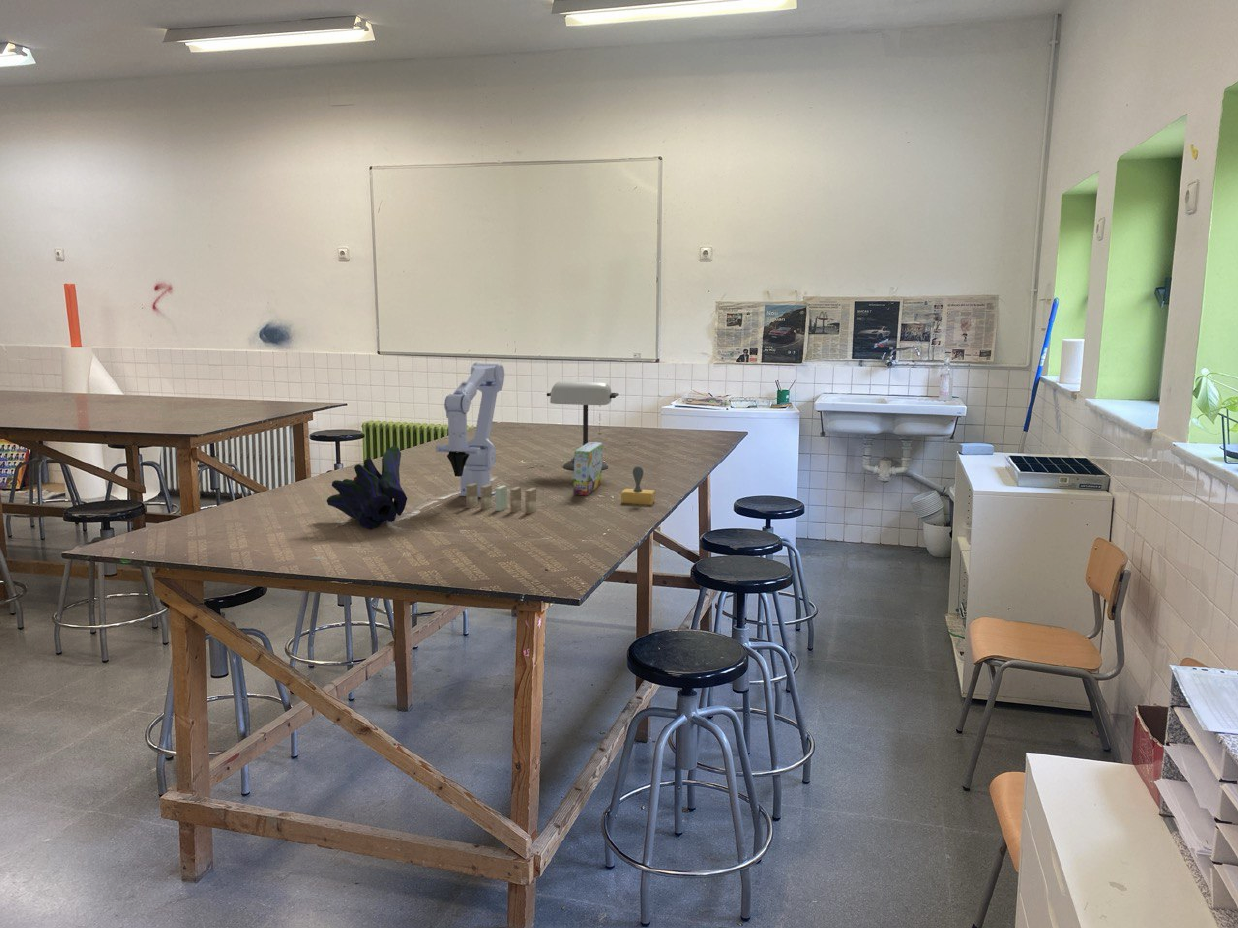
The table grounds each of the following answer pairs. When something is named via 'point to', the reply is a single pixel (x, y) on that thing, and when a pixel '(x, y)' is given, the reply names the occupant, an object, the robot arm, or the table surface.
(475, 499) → the domino
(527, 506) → the domino
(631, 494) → the rubber stamp
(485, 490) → the domino
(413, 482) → the table surface
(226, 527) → the table surface
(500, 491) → the domino
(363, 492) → the dark blue lobed piece
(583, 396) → the lamp
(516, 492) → the domino
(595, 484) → the snack box
